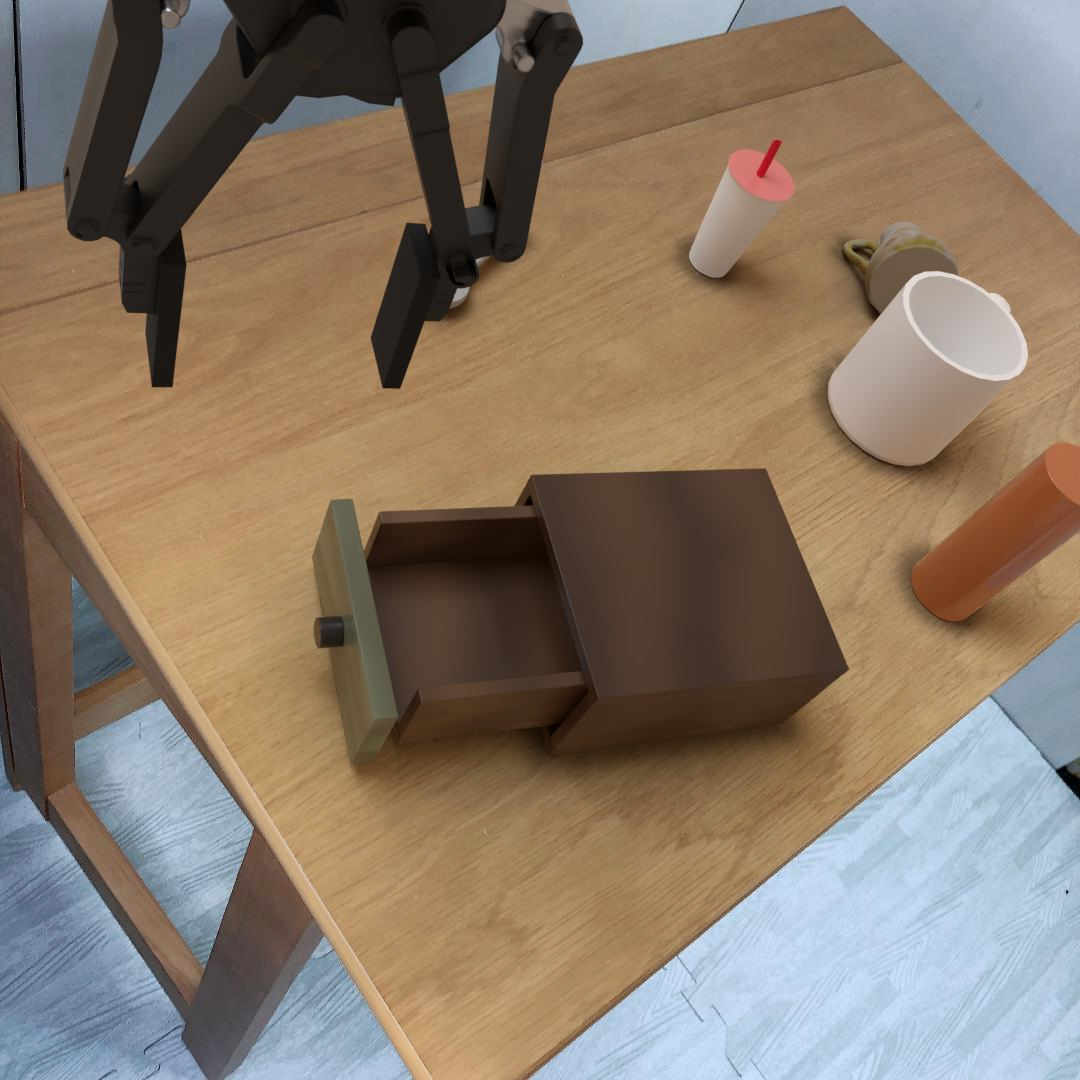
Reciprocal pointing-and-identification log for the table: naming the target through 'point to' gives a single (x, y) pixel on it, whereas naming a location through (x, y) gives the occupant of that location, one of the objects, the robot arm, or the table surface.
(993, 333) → the mug
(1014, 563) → the orange cylindrical post
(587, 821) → the table surface
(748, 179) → the cup
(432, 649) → the drawer
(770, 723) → the cabinet
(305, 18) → the robot arm
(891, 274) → the mug
